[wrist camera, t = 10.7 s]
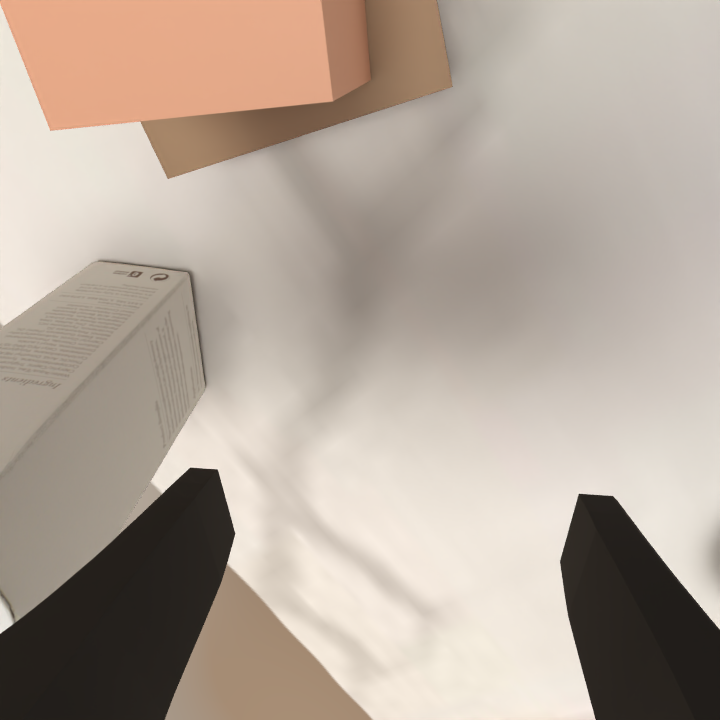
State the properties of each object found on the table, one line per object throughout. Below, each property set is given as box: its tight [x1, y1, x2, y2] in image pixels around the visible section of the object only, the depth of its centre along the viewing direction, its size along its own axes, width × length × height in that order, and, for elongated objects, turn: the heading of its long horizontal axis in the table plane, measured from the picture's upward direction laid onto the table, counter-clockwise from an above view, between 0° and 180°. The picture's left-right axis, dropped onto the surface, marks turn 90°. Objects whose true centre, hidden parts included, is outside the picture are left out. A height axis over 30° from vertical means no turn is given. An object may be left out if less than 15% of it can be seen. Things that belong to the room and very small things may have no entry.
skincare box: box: [0, 261, 205, 634], centre depth 16 cm, size 6×4×12 cm
